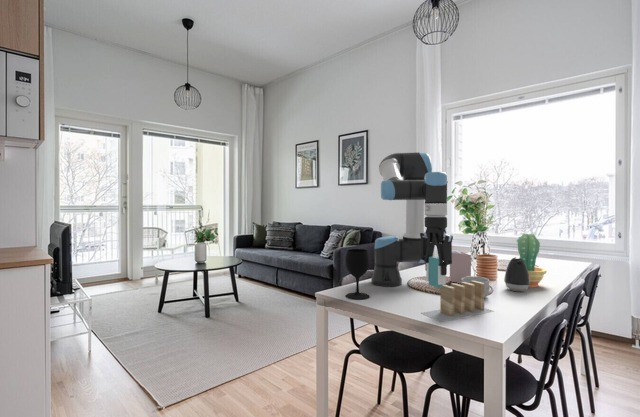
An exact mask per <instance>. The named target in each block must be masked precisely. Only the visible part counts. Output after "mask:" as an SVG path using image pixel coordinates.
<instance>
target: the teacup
mask: <svg viewBox="0 0 640 417" xmlns="http://www.w3.org/2000/svg"><path fill="white" fill-rule="evenodd" d="M461 280H462V282H466V283H470V281H477V282H481V283H484V299H485V297H486V298H487V296H489V293H490V279H489V278H487V277H483V276H477V275H476V276H473V275H471V276H466V277H463V278H462V279H461Z"/></svg>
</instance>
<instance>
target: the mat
mask: <svg viewBox="0 0 640 417" xmlns="http://www.w3.org/2000/svg"><path fill="white" fill-rule="evenodd" d="M492 312H494V310H492V309H489V308H487V307H484V310H478V309H475V312H469V311H466V310H465V314H459V313H456V312H454V316H449V315H446V314H444V313H441V312H440V309H436V310H430V311H424V312H420V314H421V315H423V316H426V317H428V318H431V319H433V320H435V321H437V322H440V323H443V322H447V321H453V320H457V319H461V318H462V319H464V318H467V317H472V316H477V315H482V314H486V313H487V314H488V313H492Z"/></svg>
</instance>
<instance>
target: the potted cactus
mask: <svg viewBox="0 0 640 417" xmlns="http://www.w3.org/2000/svg"><path fill="white" fill-rule="evenodd" d="M516 243H517V251H518V254H519V258H521V259H522V260H523V261H524V262H525V264H526V267H527V270H528V273H529V278H530V284H529V287H528V288H537V287H539V284H540V282H541V281H542V280H543V279H544V276H545V275H546V274H547V269H546V268H543V267H542V268H541V267H538V266H536V262H537V256H538V254H539V253H540V245H541V244H540V243H541V242H540V240H539V239H538V238H537V236H536V235H535V234H532V233H523V234H522V235H520V236H519V237H518V239H516Z"/></svg>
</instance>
